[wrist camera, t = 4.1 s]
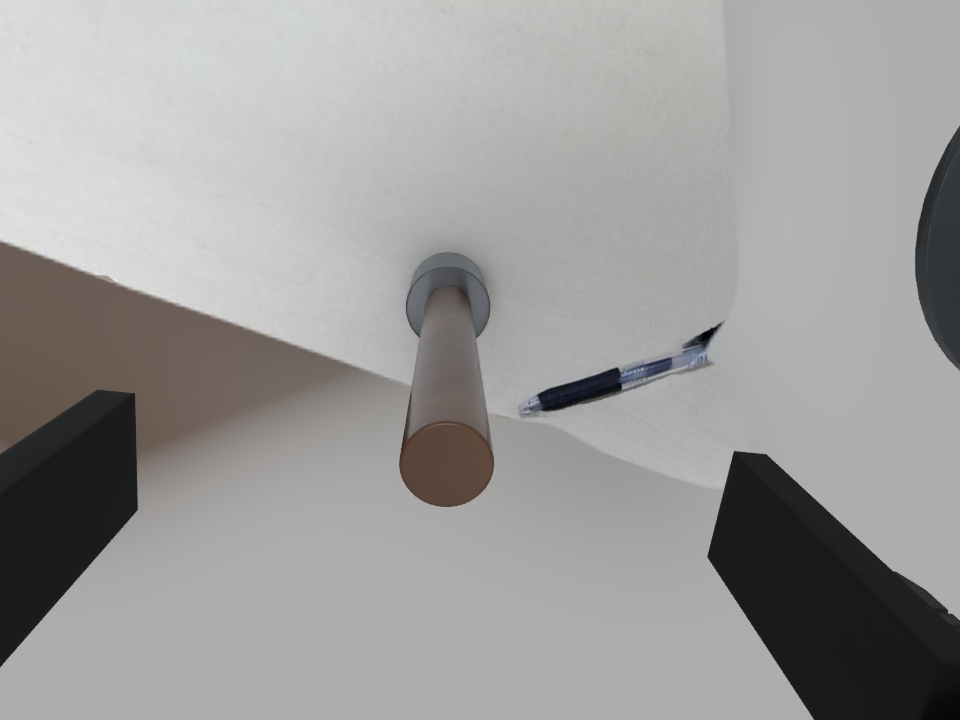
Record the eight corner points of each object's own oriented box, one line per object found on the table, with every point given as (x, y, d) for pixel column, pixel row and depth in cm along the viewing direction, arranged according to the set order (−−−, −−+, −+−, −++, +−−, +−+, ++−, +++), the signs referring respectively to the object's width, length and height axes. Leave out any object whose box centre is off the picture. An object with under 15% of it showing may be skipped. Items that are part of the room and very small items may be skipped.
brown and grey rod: (489, 256, 36) (544, 393, 15) (480, 328, 37) (520, 548, 16) (415, 248, 36) (366, 375, 15) (408, 320, 37) (353, 534, 16)
